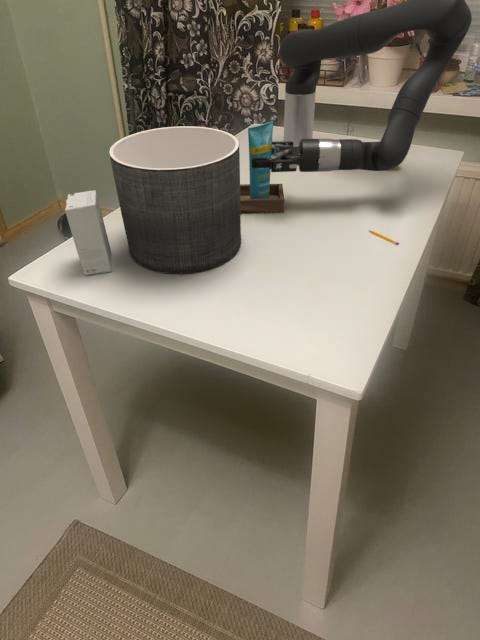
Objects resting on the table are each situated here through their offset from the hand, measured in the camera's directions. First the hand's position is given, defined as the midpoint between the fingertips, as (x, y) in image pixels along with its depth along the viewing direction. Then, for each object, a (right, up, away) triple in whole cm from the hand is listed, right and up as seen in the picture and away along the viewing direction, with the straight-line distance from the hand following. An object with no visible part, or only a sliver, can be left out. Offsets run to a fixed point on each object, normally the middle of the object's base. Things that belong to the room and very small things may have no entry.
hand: (251, 156), depth 114 cm
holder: (+2, -10, +8) cm, 13 cm away
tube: (+2, -9, +7) cm, 12 cm away
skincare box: (-33, -28, -13) cm, 45 cm away
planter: (-15, -23, -7) cm, 28 cm away
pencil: (+30, -21, -7) cm, 37 cm away
